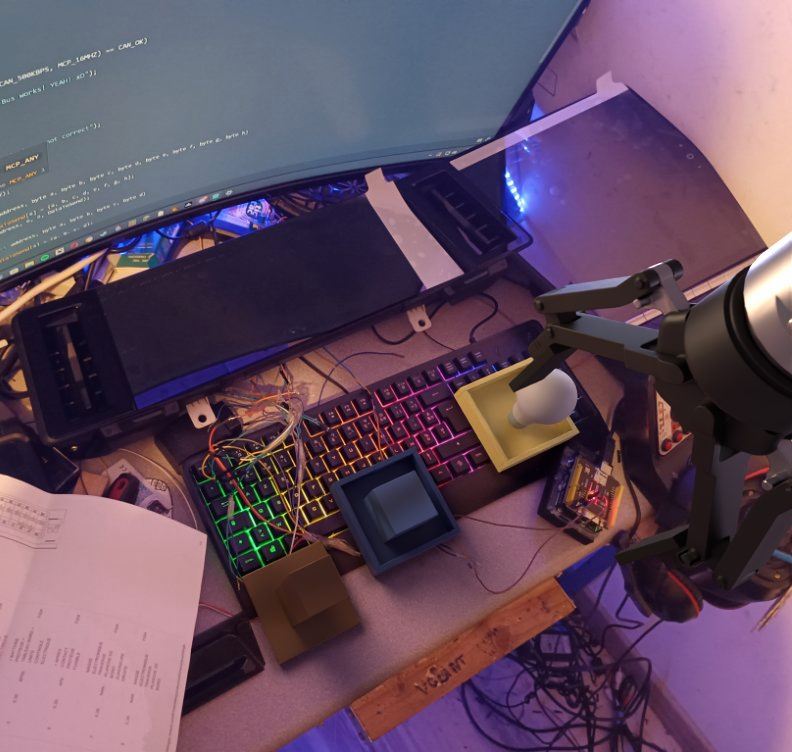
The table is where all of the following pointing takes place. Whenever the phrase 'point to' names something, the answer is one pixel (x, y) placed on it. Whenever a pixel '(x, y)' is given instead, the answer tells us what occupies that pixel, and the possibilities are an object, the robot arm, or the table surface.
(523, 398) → the lightbulb
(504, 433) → the pale tray
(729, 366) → the robot arm
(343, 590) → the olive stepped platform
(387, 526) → the blue block
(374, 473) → the navy tray
